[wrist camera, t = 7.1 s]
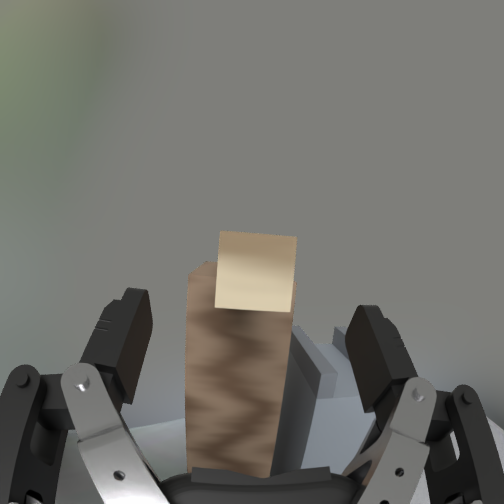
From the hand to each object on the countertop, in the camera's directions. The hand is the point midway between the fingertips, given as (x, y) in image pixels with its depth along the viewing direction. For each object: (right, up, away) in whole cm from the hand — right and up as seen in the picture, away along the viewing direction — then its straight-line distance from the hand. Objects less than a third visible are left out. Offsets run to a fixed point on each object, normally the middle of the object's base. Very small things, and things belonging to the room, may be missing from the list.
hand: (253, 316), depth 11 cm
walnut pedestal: (-4, -31, +19) cm, 37 cm away
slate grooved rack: (+7, -32, +20) cm, 38 cm away
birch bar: (-1, 0, +13) cm, 13 cm away
